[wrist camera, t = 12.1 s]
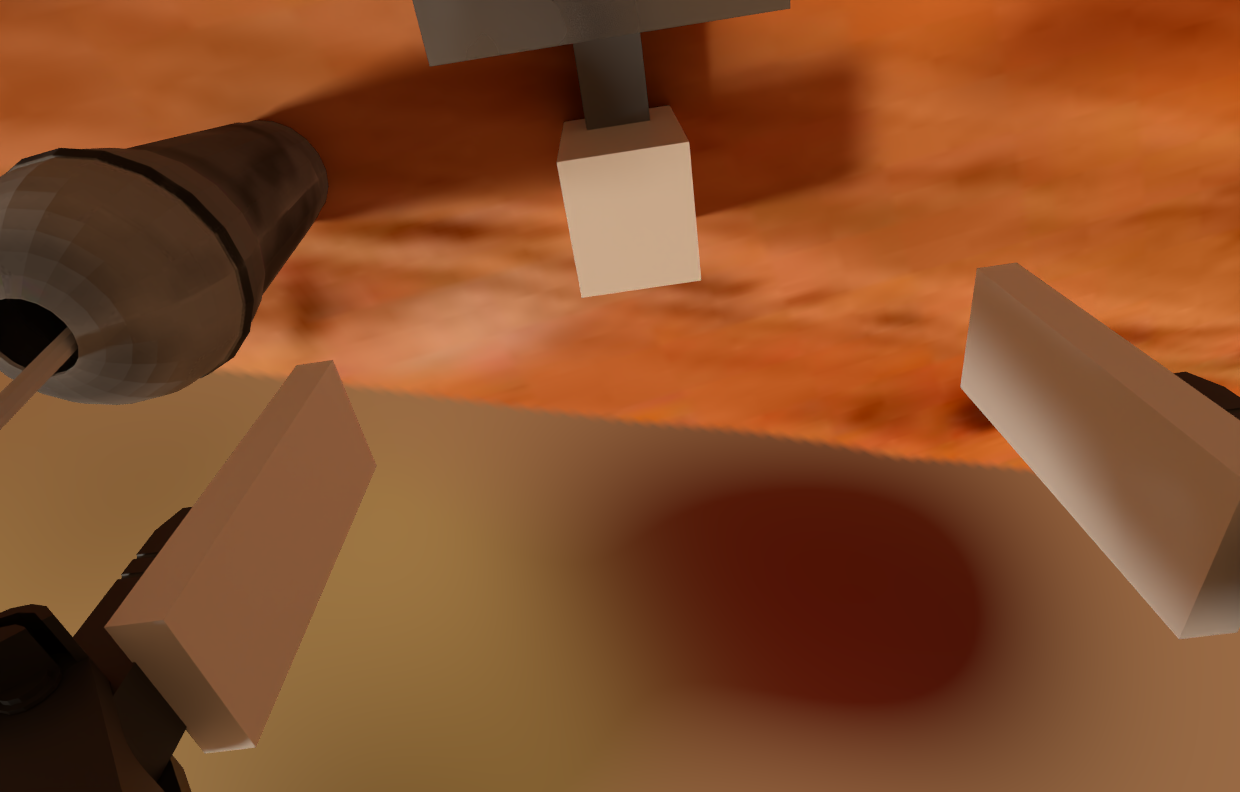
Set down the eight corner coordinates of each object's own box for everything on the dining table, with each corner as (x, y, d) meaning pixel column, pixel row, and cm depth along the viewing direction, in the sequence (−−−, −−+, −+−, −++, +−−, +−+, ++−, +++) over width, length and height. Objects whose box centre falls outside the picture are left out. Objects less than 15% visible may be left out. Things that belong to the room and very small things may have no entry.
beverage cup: (209, 46, 27) (-411, 182, 10) (385, 143, 30) (108, 387, 13) (167, 204, 31) (-360, 505, 14) (329, 282, 33) (48, 625, 16)
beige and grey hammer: (504, -217, 24) (474, -279, 18) (635, -242, 23) (649, -312, 17) (583, 235, 32) (581, 297, 26) (681, 220, 32) (701, 280, 26)
